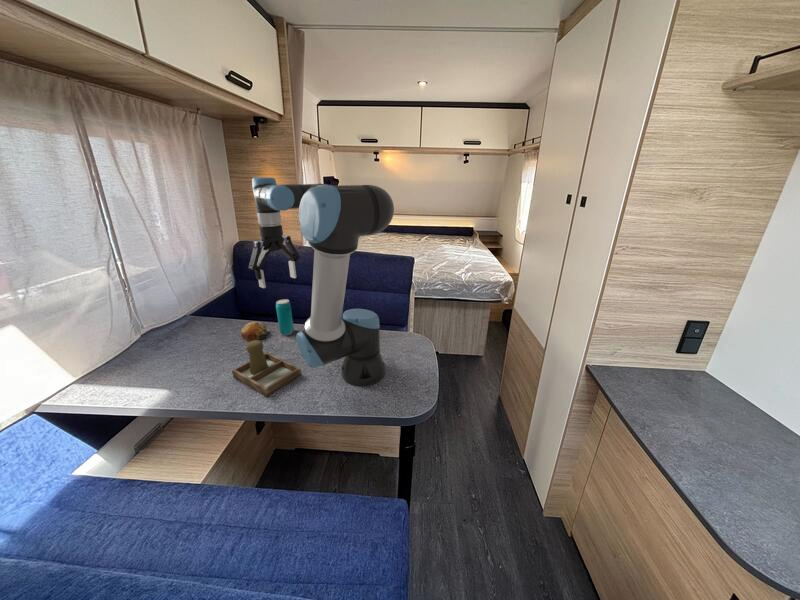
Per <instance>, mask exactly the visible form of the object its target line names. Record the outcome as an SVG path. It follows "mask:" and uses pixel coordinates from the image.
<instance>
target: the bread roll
mask: <svg viewBox="0 0 800 600" xmlns="http://www.w3.org/2000/svg"><path fill="white" fill-rule="evenodd" d="M267 333H268V329H267V326H265V324H264V323H262V322H261V321H250V322H248V323H246V324H245V325H243V327H242V329H241V331H240V335H241V338H242V339H243V340H245V341H246V340H247V341H246V342H251V341H254V340H259V341H260V340H262V339H264V338H265V337H266V335H267Z"/></svg>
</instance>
